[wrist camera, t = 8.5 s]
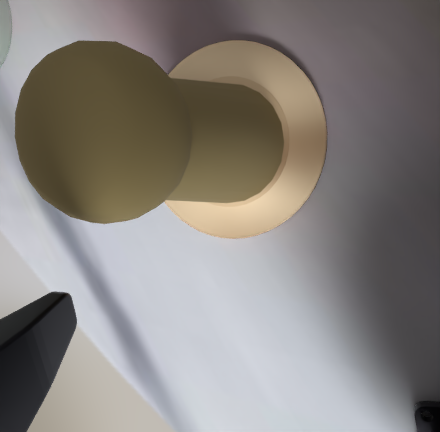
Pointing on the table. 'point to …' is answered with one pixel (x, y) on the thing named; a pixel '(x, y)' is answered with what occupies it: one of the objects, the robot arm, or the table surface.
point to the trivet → (292, 132)
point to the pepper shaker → (139, 135)
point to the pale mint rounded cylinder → (5, 29)
